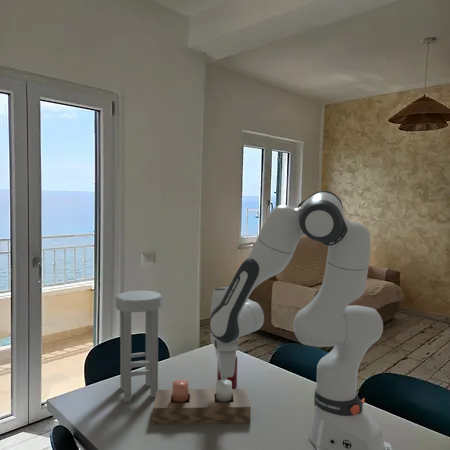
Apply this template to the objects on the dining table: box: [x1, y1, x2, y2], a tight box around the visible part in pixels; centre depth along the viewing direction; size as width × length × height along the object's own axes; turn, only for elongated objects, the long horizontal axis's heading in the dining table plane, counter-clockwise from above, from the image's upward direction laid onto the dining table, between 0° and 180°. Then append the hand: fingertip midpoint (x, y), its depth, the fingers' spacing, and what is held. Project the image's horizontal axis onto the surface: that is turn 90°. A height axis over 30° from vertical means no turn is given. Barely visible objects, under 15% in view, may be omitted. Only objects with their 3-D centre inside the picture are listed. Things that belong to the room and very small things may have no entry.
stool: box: [115, 290, 163, 403], centre depth 143 cm, size 16×16×35 cm
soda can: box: [216, 355, 238, 389], centre depth 148 cm, size 7×7×12 cm
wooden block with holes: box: [152, 388, 252, 425], centre depth 130 cm, size 30×12×5 cm, turn 93°
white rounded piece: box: [215, 379, 232, 402], centre depth 130 cm, size 5×5×5 cm
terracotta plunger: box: [172, 379, 189, 402], centre depth 130 cm, size 5×5×5 cm
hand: (223, 378), depth 130 cm, fingers closed
